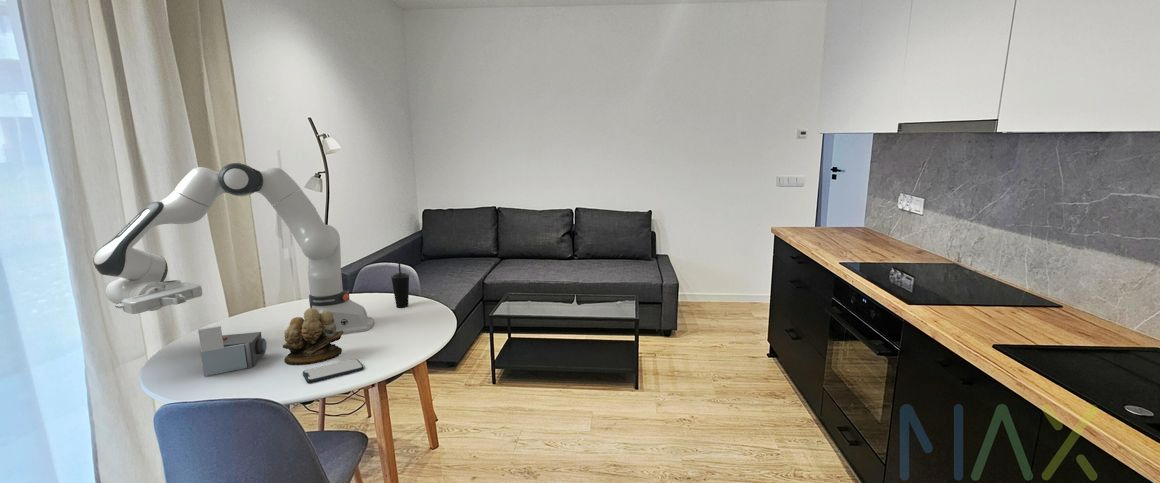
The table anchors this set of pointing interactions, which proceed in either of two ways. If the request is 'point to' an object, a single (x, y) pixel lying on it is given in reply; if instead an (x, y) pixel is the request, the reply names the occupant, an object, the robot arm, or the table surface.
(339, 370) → the phone case
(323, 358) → the owl figurine
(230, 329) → the table surface
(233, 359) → the side door
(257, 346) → the camera body
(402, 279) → the drinking cup
